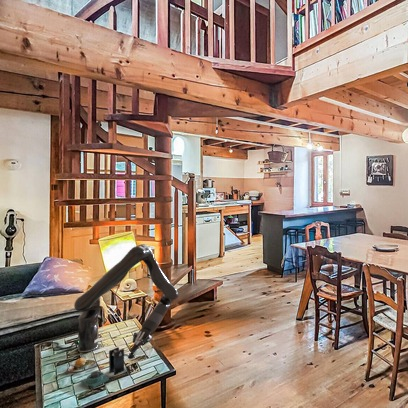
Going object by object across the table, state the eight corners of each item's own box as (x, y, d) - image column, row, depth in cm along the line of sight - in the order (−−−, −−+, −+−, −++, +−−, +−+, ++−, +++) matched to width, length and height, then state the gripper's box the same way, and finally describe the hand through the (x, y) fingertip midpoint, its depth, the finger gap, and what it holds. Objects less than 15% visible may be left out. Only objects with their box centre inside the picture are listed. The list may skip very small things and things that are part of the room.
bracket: (118, 367, 169) (118, 344, 169) (130, 372, 165) (130, 348, 165) (102, 375, 162) (102, 351, 161) (114, 380, 158) (114, 355, 157)
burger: (101, 363, 173) (101, 350, 173) (83, 376, 161) (83, 361, 161) (80, 362, 173) (79, 349, 173) (60, 375, 161) (60, 360, 161)
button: (88, 377, 154) (88, 374, 154) (97, 373, 157) (97, 370, 157) (93, 379, 153) (93, 375, 153) (101, 375, 156) (101, 372, 156)
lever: (130, 358, 171) (133, 352, 173) (133, 360, 170) (137, 353, 172) (110, 355, 162) (114, 349, 163) (114, 357, 161) (117, 350, 162)
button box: (81, 384, 154) (81, 377, 154) (96, 377, 160) (96, 369, 160) (93, 390, 150) (93, 382, 150) (109, 382, 157) (109, 374, 156)
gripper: (140, 316, 181) (118, 347, 170) (156, 320, 176) (135, 352, 165) (149, 322, 186) (128, 352, 176) (165, 326, 181) (144, 357, 170)
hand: (131, 352), depth 170 cm, fingers closed
